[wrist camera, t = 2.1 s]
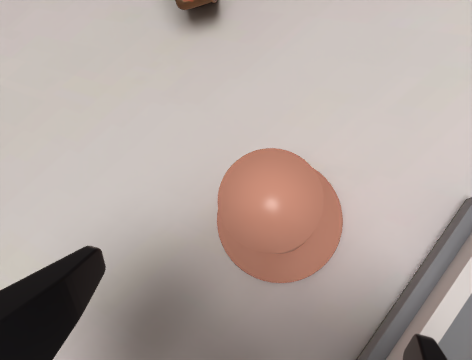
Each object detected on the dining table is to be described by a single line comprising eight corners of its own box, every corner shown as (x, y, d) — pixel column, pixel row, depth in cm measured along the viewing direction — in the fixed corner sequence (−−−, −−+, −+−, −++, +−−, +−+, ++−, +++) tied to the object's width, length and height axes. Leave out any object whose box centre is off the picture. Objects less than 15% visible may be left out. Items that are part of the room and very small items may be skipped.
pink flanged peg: (245, 292, 19) (205, 321, 11) (216, 190, 21) (161, 144, 12) (352, 260, 19) (401, 265, 10) (313, 158, 20) (327, 86, 12)
